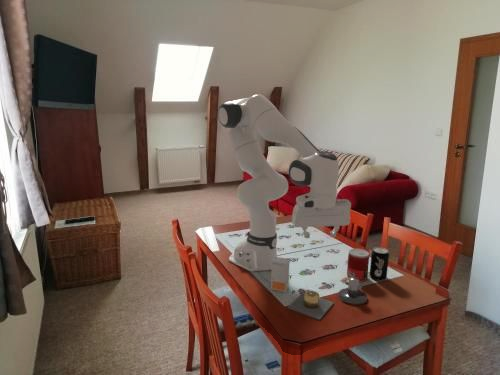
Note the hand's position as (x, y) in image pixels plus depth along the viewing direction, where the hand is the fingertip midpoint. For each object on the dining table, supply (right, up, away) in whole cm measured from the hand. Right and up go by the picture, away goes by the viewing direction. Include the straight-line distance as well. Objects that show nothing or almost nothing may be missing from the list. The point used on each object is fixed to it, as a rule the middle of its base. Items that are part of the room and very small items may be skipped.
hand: (319, 237), depth 130 cm
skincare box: (-13, -21, +12) cm, 28 cm away
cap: (-3, -24, 0) cm, 24 cm away
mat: (-3, -24, 0) cm, 24 cm away
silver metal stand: (+13, -23, +6) cm, 27 cm away
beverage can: (+28, -19, +21) cm, 40 cm away
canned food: (+19, -19, +21) cm, 34 cm away
